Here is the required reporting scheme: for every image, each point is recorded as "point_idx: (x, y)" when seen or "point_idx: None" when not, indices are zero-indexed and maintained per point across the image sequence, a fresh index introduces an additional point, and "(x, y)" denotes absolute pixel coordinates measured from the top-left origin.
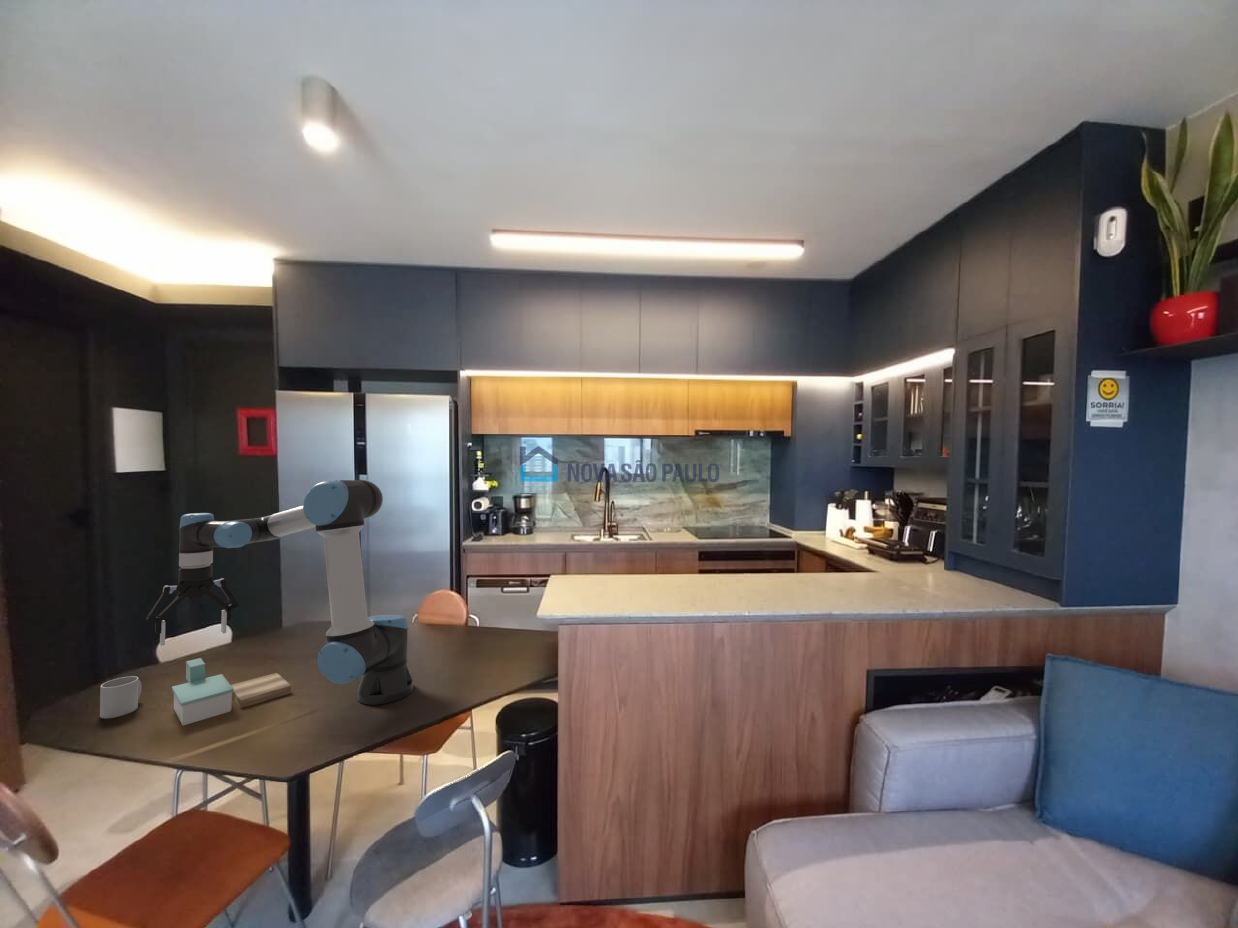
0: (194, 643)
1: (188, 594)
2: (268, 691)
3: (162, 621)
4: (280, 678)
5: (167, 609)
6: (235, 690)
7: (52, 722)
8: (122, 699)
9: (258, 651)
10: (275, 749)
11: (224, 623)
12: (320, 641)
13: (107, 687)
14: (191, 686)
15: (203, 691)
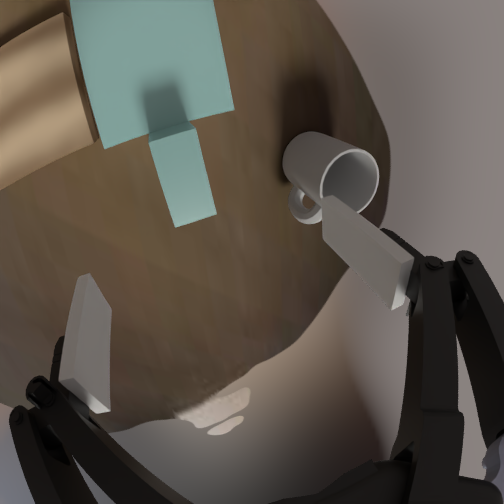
0: (225, 418)
1: (410, 494)
2: (4, 47)
3: (404, 282)
4: None
5: (452, 327)
6: (72, 90)
7: (379, 191)
8: (325, 140)
9: (113, 377)
10: None
11: (77, 313)
12: (21, 376)
13: (370, 157)
14: (181, 74)
15: (146, 7)
